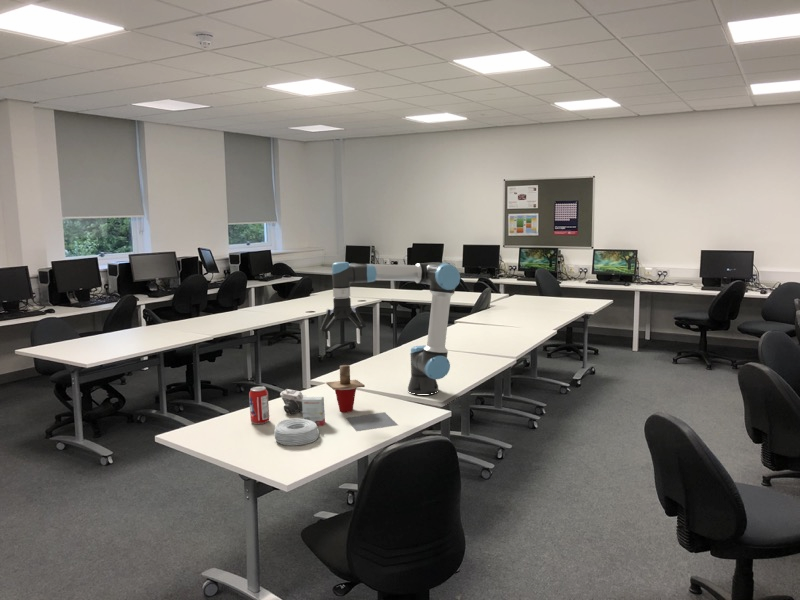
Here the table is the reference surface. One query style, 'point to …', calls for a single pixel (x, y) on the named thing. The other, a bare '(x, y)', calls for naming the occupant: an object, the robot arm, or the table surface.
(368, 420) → the mat
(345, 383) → the lid
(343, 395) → the plastic cup
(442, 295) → the robot arm
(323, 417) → the ink box
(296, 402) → the camera
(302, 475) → the table surface
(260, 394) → the soda can
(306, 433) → the cable
